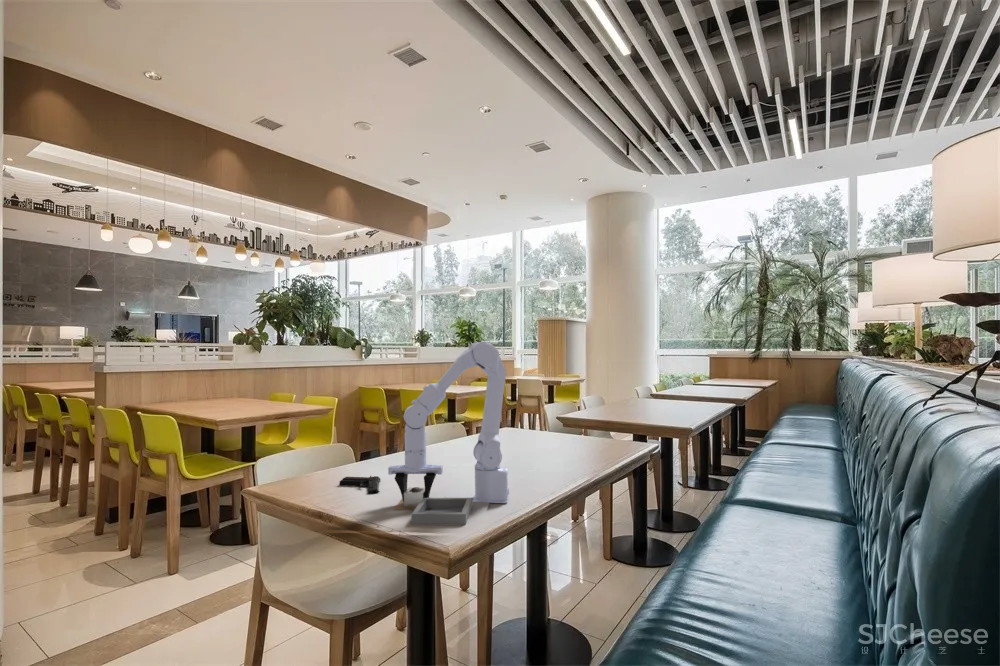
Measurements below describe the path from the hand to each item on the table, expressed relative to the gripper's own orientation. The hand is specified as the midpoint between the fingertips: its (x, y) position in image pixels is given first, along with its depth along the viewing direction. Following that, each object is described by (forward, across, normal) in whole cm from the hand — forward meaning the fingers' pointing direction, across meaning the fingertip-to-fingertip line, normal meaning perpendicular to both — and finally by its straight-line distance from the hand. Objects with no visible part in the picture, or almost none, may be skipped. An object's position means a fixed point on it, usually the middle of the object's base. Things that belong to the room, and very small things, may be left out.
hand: (416, 500), depth 134 cm
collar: (+1, 0, 0) cm, 1 cm away
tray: (+1, +9, -9) cm, 13 cm away
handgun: (+2, -22, +17) cm, 27 cm away
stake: (+1, 0, 0) cm, 1 cm away
